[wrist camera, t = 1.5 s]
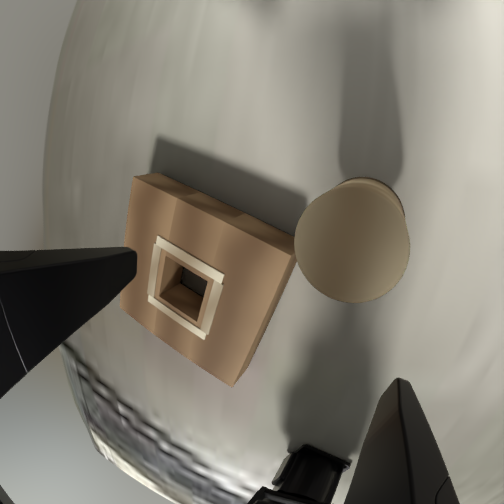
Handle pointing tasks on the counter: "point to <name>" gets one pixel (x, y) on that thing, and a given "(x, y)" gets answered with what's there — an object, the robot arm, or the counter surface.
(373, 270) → the peg
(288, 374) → the counter surface
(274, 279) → the seat block
